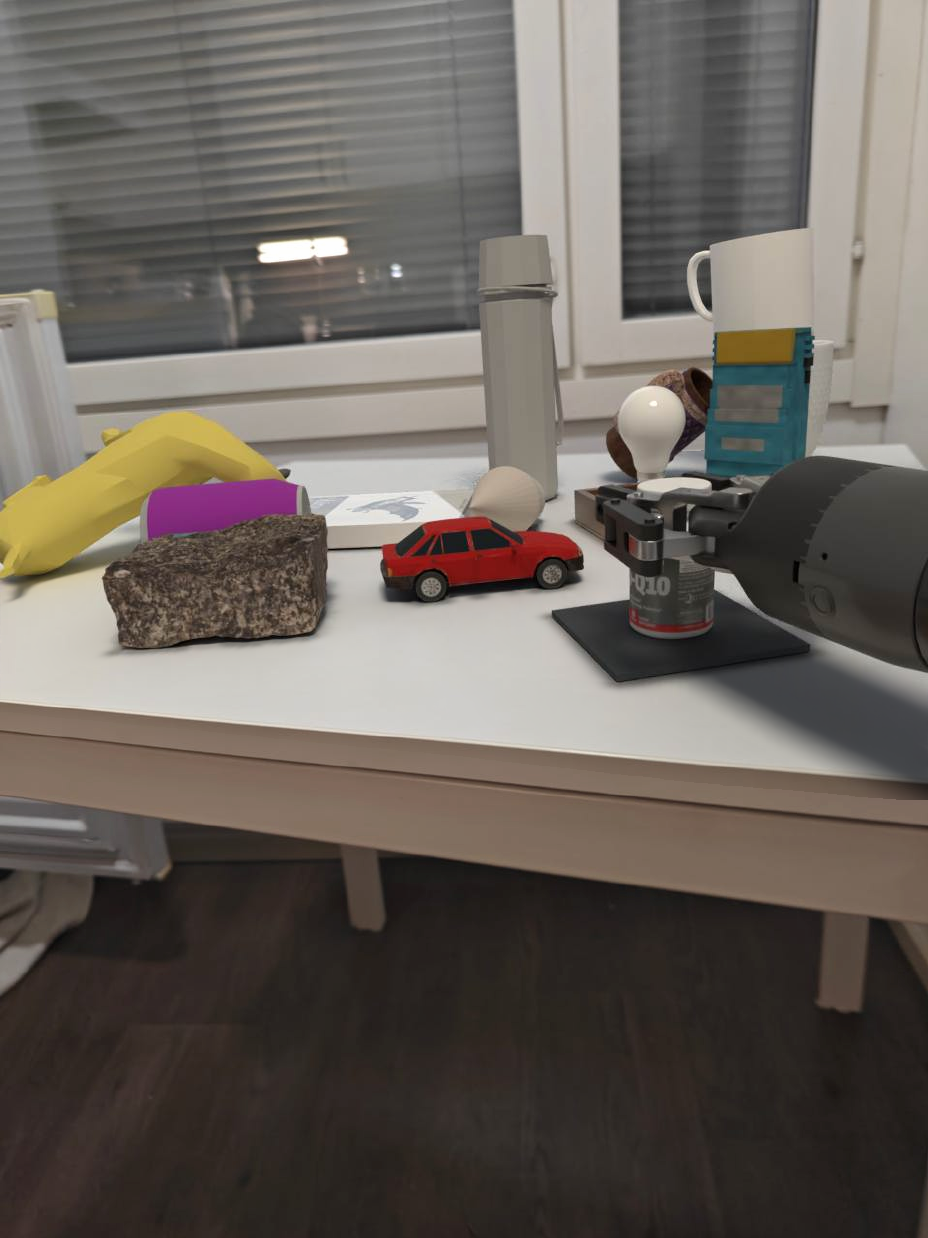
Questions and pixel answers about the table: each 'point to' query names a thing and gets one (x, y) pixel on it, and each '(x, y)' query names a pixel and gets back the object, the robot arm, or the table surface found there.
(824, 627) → the robot arm
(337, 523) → the book
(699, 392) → the mug
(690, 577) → the pill bottle
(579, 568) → the toy car
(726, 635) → the mat
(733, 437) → the teal upright box
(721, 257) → the mug
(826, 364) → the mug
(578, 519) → the wooden tray
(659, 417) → the lightbulb
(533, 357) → the water bottle
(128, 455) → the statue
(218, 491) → the beverage can
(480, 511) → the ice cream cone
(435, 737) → the table surface
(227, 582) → the stone
